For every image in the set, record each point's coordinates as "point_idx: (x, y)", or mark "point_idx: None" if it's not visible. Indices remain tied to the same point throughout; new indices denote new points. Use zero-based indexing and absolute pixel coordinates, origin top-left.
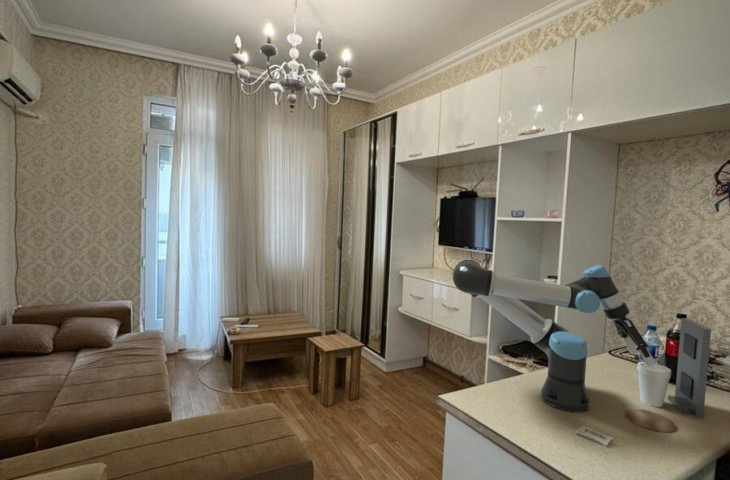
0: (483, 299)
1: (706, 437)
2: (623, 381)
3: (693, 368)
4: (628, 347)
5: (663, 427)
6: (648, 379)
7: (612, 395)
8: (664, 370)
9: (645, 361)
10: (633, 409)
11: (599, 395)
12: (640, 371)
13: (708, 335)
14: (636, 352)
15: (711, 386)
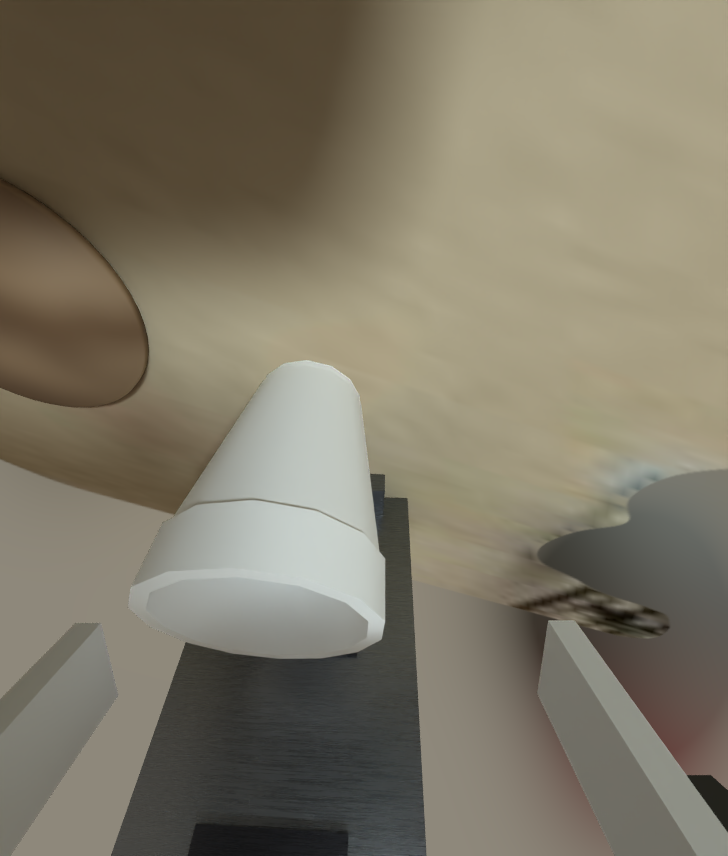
0: None
1: (61, 459)
2: (607, 368)
3: (226, 731)
4: (615, 736)
5: None
6: (183, 501)
7: (316, 184)
8: (311, 624)
9: (13, 690)
10: (85, 259)
11: (250, 10)
12: (210, 517)
13: None
14: (545, 677)
15: (540, 599)
